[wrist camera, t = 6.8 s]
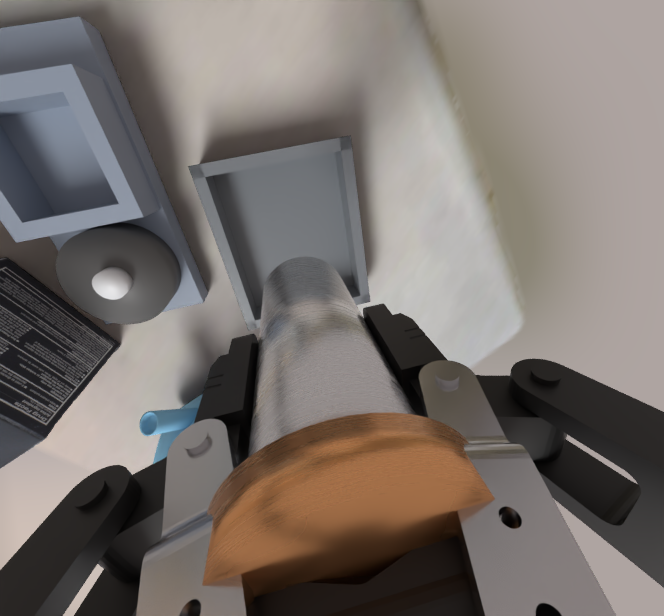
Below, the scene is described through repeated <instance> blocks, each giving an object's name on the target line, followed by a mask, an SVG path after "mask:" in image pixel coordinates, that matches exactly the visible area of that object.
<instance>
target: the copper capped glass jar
mask: <svg viewBox="0 0 664 616" xmlns="http://www.w3.org/2000/svg"><path fill="white" fill-rule="evenodd" d="M465 444H469V443H468V441H467V439H466V438H465V437H464V436H462V435H461V434H460V433H459V432H458V431H456V430H455V429H453V428H451V427H450V426H448V425H446V424H444V423H442V422H439V421H436V420H434V419H431V418H427V417H423V416H418V415H417V414H416V412H415V410H414V409H413V407H412V405H411V403H410V401H409V400H408V398H407V396H406V394H405V392H404V391H403V389H402V387H401V385H400V383H399V382H398V380H397V378H396V376H395V374H394V372H393V371H392V369H391V367H390V365H389V363H388V362H387V360H386V358H385V356H384V354H383V353H382V351H381V349H380V347H379V345H378V344H377V342H376V340H375V338H374V336H373V334H372V333H371V331H370V329H369V327H368V325H367V324H366V322H365V320H364V318H363V316H362V315H361V313H360V311H359V309H358V307H357V306H356V304H355V302H354V300H353V298H352V296H351V295H350V293H349V291H348V289H347V287H346V286H345V284H344V282H343V280H342V278H341V277H340V275H339V273H338V272H337V271H336V269H335V268H334V267H332V266H331V265H330V264H329V263H327V262H325V261H323V260H321V259H318V258H314V257H296V258H292V259H289V260H287V261H285V262H283V263H281V264H280V265H278V266H277V267H276V268H275V269H274V270H273V271H272V272H271V273H270V275H269V276H268V278H267V280H266V282H265V285H264V290H263V300H262V311H261V322H260V333H259V344H258V355H257V366H256V377H255V388H254V399H253V410H252V421H251V432H250V443H249V454H248V458H247V459H246V460H245V461H244V462H242V463H241V464H240V465H239V466H238V467H237V468H235V469H234V470H233V471H232V472H231V473H230V475H229V476H228V477H227V478H226V479H225V480H224V481H223V482H222V484H221V485H220V487H219V488H218V490H217V491H216V493H215V494H214V496H213V498H212V501H211V503H210V505H209V508H208V511H207V515H209V514H211V515H212V518H213V523H212V531H211V537H210V543H209V549H208V554H207V560H206V566H205V572H204V578H203V584H202V585H206V584H209V583H212V582H216V581H219V580H223V579H226V578H229V577H233V576H236V575H239V574H241V575H242V576H243V578H244V579H245V580H246V582H247V583H248V585H249V586H250V587H251V589H252V590H253V594H254V597H257V596H260V595H264V594H267V593H270V592H274V591H277V590H280V589H284V588H287V587H290V586H294V585H297V584H300V583H304V582H307V583H329V584H350V585H361V584H364V583H366V582H368V581H369V580H371V579H372V578H373V577H375V576H376V575H378V574H379V573H380V572H382V571H383V570H385V569H386V568H387V567H389V566H390V565H392V564H393V563H394V562H396V561H397V560H399V559H400V558H401V557H403V556H404V555H405V554H407V553H408V552H410V551H411V550H413V549H416V548H419V547H423V546H426V545H429V544H433V543H436V542H439V541H443V540H446V539H449V538H453V537H456V536H457V532H456V523H457V510H460V509H463V508H467V507H470V506H473V505H477V504H480V503H484V502H487V501H490V500H494V499H495V498H494V496H493V495H492V493H491V492H490V490H489V489H488V487H487V486H486V484H485V482H484V481H483V479H482V478H481V476H480V475H479V473H478V472H477V470H476V469H475V467H474V465H473V464H472V462H471V461H470V459H469V458H468V456H467V454H466V452H465V449H464V445H465Z"/></svg>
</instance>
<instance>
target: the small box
mask: <svg viewBox="0 0 664 616" xmlns="http://www.w3.org/2000/svg"><path fill="white" fill-rule="evenodd" d="M119 347H120V344H119V343H118V342H117V341H116V340H114V339H113V338H112V337H110V336H109V335H108V334H107V333H105V332H104V331H103V330H101V329H100V328H99V327H97V326H96V325H95V324H93V323H92V322H91V321H90V320H88V319H87V318H86V317H84V316H83V315H82V314H80V313H79V312H78V311H76V310H75V309H74V308H73V307H71V306H70V305H68V304H67V303H66V302H65V301H63V300H62V299H61V298H59V297H58V296H57V295H55V294H54V293H53V292H51V291H50V290H49V289H47V288H46V287H45V286H44V285H42V284H41V283H40V282H38V281H37V280H36V279H34V278H33V277H32V276H30V275H29V274H28V273H26V272H25V271H24V270H22V269H21V268H20V267H19V266H17V265H16V264H15V263H13V262H12V261H11V260H9V259H8V258H0V468H2V467H3V466H5V465H6V464H8V463H10V462H11V461H13V460H14V459H16V458H17V457H19V456H20V455H22V454H23V453H25V452H26V451H28V450H29V449H31V448H32V447H34V446H35V445H37V444H38V443H40V442H42V441H43V440H44V439H45V438H46V437H47V436H48V434H49V433H50V432H51V430H52V429H53V427H54V425H55V424H56V423H57V422H58V420H59V419H60V418H61V417H62V415H63V414H64V413H65V411H66V410H67V409H68V408H69V407H70V406H71V404H72V403H73V401H74V400H76V398H77V397H78V396H79V395H80V394H81V392H82V391H83V390H84V389H85V387H86V386H87V385H88V384H89V382H90V381H91V380H92V379H93V377H94V376H95V375H96V374H97V372H98V371H99V370H100V369H101V368H102V366H103V365H104V364H105V363H106V362H107V360H108V359H109V358H110V357H111V355H112V354H113V353H114V352H115V351H116V350H117V349H118V348H119Z"/></svg>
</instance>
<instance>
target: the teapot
mask: <svg viewBox="0 0 664 616" xmlns="http://www.w3.org/2000/svg"><path fill="white" fill-rule="evenodd" d="M202 395H203V394H201V395H200V396H198V397H197V398H195V399H194V400H192V401H191V402H189V403H188V404H186V405H185V406H183V407H182V408H180V409H174V410H160V411H149V412H146V413H145V414H144V415H143V416H142V418H141V420H140V430H141V432H142V434H143V435H145V436H150V435H156V434H161V436H160V439H159V443H158V446H157V449H156V453H155V457H154V462H153V464H154V463H156V462H158V461H160V460H162V459H164V458H165V457H167V454H168V450H169V448H170V446H171V444H172V443H173V441H174V440H175V438H176V437H177V436H178V435H179V434H180V433H181V432H182V431H184V430H185V429H186V428H188V427H189V426H191V425H192V424H194V421H195V418H196V415H197V411H198V408H199V405H200V402H201V398H202Z"/></svg>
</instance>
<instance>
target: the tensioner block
mask: <svg viewBox="0 0 664 616" xmlns="http://www.w3.org/2000/svg"><path fill="white" fill-rule="evenodd" d="M0 221H1V222H2V224H3V225H4V226H5V228H6V229H7V231H8V232H9V233H10V235H11V236H12V238H13V239H14V241H15V242H16V243H17V242H22V241H27V240H32V239H37V238H42V237H47V236H49V237H50V239H51V240H52V242H53V243H54V245H55V246H56V248H57V249H58V251H59V253H58V255H57V259H56V274H57V277H58V281H59V283H60V285H61V287H62V289H63V290H64V292H65V293H66V295H67V296H68V297H69V298H70V299H71V300H72V301H73V302H74V303H75V304H76V305H77V306H78V307H79V308H81V309H82V310H84V311H85V312H87V313H89V314H90V315H92V316H94V317H97V318H99V319H102V320H103V321H104V322H105V324H111V323H118V324H136V323H142V322H145V321H148V320H150V319H152V318H154V317H156V316H157V315H159V314H160V313H161V312H164V311H168V310H173V309H177V308H182V307H186V306H191V305H195V304H199V303H203V302H204V300H205V298H206V296H207V294H208V291H207V289H206V287H205V284H204V282H203V279H202V277H201V275H200V272H199V270H198V267H197V265H196V263H195V260H194V258H193V255H192V253H191V251H190V248H189V246H188V243H187V241H186V239H185V236H184V234H183V231H182V229H181V227H180V224H179V222H178V219H177V217H176V215H175V212H174V210H173V207H172V205H171V203H170V200H169V198H168V195H167V193H166V191H165V188H164V186H163V183H162V181H161V179H160V176H159V174H158V171H157V169H156V167H155V164H154V162H153V159H152V157H151V155H150V152H149V150H148V147H147V145H146V143H145V140H144V138H143V135H142V133H141V131H140V128H139V126H138V123H137V121H136V119H135V116H134V114H133V111H132V109H131V106H130V104H129V102H128V99H127V97H126V94H125V92H124V90H123V87H122V85H121V82H120V80H119V78H118V75H117V73H116V70H115V68H114V66H113V63H112V61H111V58H110V56H109V54H108V51H107V49H106V46H105V44H104V42H103V39H102V37H101V34H100V32H99V30H98V29H96V28H95V27H93V26H92V25H91V24H89V23H88V22H87V21H85V20H84V19H82V18H81V17H80V16H79V17H72V18H65V19H58V20H51V21H45V22H38V23H31V24H24V25H18V26H11V27H4V28H0Z"/></svg>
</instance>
